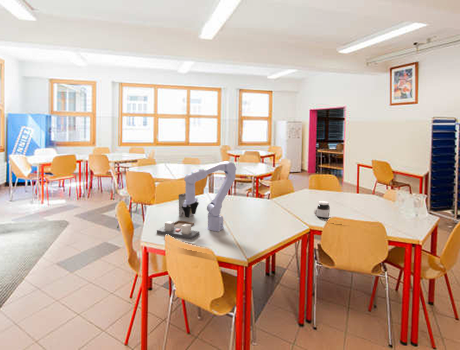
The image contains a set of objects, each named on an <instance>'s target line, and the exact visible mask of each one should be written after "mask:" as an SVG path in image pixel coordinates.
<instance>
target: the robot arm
mask: <svg viewBox="0 0 460 350" xmlns="http://www.w3.org/2000/svg"><path fill="white" fill-rule="evenodd" d="M218 171H223V172H224V174H225V179H224V181H223V182H222V184H221V186H220V188H219V190H218V192H217V194H216V195H215V197H214V198H213V200H211V201H210V203H208V204H207V206H206V210H207V227H205V230H210V231H213V232H220V231H221V230H223V229H224V216H221V209H222V206H223V201H224V199H225V198H226V196H227V195H228V192H229V191H230V189H231V187H232V185H233V184H234V182H235V180H236V171H237V166H236V164H235V163H233V162H232V161H231V162H230V161H228V160H224V161H220V162H219V163H216V164H214V165H212V166H210V167H208V168H206V169H204V168H198V169H197V170H196V171H194V172H193V171H192V172H191V173H187V174H186V175H185V176H184V178H183V179H184V182H185V192H184V193H186V200H184V203H183V206H182V209H183V210H184V213H185V216H186V217H185V218H190V217H191V216H190V209H191V211H192V214H194V215H196V213H197V208H198V206H199V204H200V203H199V202H198V201H199V200H198V198H196V182H199V181H201V180H203V179H206V178H207V177H208V175H210V174H213V173H215V172H218ZM188 205H190V206H191V207H189V206H188Z"/></svg>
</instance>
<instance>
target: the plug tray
mask: <svg viewBox="0 0 460 350" xmlns="http://www.w3.org/2000/svg"><path fill="white" fill-rule="evenodd" d="M173 222H174V227H176V228H182V225H184V224H191V227H194V226H195V222H191V221H186V220H185V221H184V220H180V219H178V220H177V221H173Z"/></svg>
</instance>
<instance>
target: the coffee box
mask: <svg viewBox="0 0 460 350" xmlns="http://www.w3.org/2000/svg"><path fill="white" fill-rule="evenodd" d="M184 200H186V192H183V193H180V194H178V216H179V217H183V218H187V217H186V216H185V213H184V210H183V209H182V206H183V203H184ZM188 206H189V207H191V206H190V205H188ZM194 215H195V214H192V211H191V209H190V216H189V217H192V216H194Z"/></svg>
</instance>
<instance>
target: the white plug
mask: <svg viewBox="0 0 460 350" xmlns="http://www.w3.org/2000/svg"><path fill="white" fill-rule="evenodd" d="M191 230H192V226H191V224H184V225H182V234H187V235H189V234H190V233H191Z"/></svg>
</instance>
